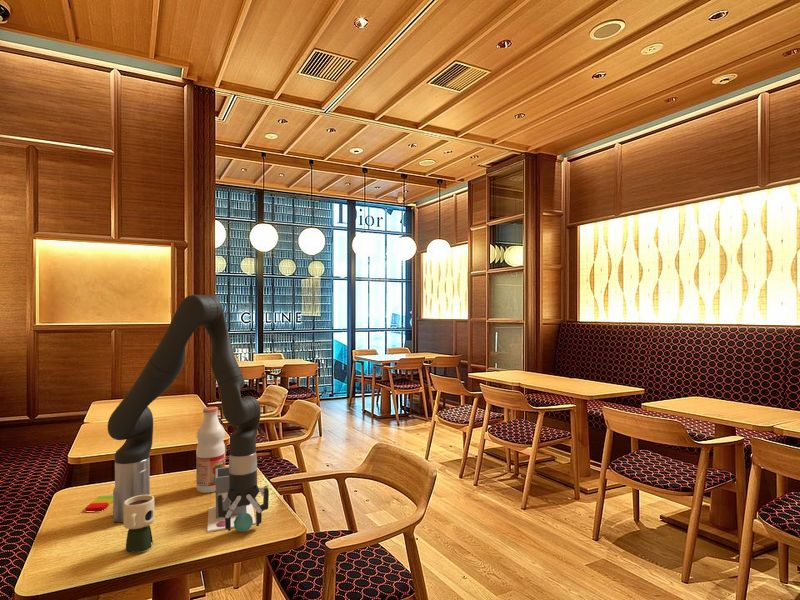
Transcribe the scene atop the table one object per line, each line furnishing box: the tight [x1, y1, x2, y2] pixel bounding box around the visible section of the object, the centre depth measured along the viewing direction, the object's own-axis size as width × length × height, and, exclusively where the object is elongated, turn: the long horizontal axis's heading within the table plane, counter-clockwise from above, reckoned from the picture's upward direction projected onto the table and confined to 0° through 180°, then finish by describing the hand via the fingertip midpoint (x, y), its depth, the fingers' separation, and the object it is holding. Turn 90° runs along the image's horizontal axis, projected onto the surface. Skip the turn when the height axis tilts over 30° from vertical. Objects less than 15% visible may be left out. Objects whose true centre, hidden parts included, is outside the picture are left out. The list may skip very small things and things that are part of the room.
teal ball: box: [234, 513, 253, 533], centre depth 133 cm, size 5×5×5 cm
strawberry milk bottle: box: [195, 406, 226, 494], centre depth 164 cm, size 9×9×28 cm
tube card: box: [207, 466, 256, 533], centre depth 142 cm, size 13×16×12 cm
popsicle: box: [84, 492, 113, 512], centre depth 153 cm, size 6×15×2 cm, turn 7°
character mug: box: [123, 494, 155, 553], centre depth 123 cm, size 11×7×13 cm, turn 12°
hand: (243, 527), depth 133 cm, fingers open, 7 cm apart
